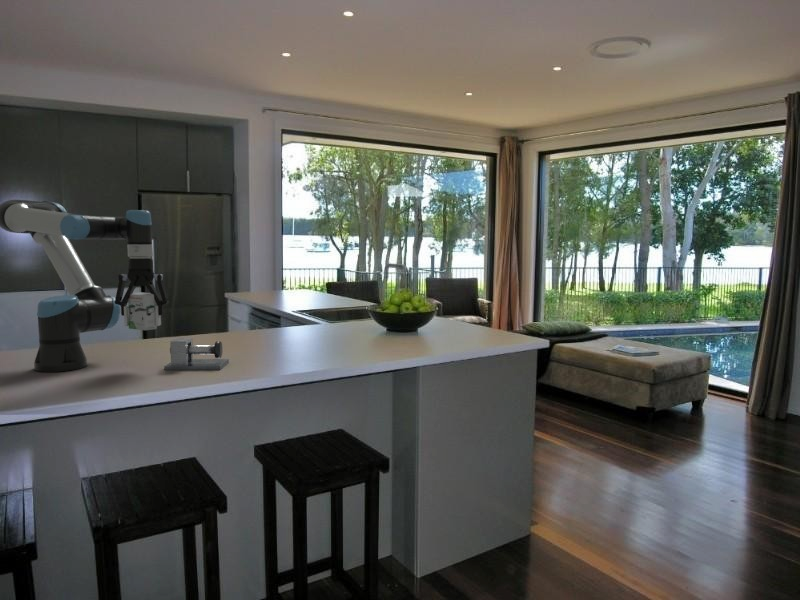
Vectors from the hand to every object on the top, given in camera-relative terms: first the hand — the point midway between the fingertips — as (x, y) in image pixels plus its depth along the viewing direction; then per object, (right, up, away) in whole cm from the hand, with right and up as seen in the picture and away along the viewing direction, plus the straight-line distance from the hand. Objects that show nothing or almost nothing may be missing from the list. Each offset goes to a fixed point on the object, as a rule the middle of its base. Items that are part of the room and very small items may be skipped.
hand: (142, 325), depth 199 cm
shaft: (+17, -11, +2) cm, 20 cm away
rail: (+17, -14, +2) cm, 22 cm away
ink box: (0, -1, 0) cm, 1 cm away
